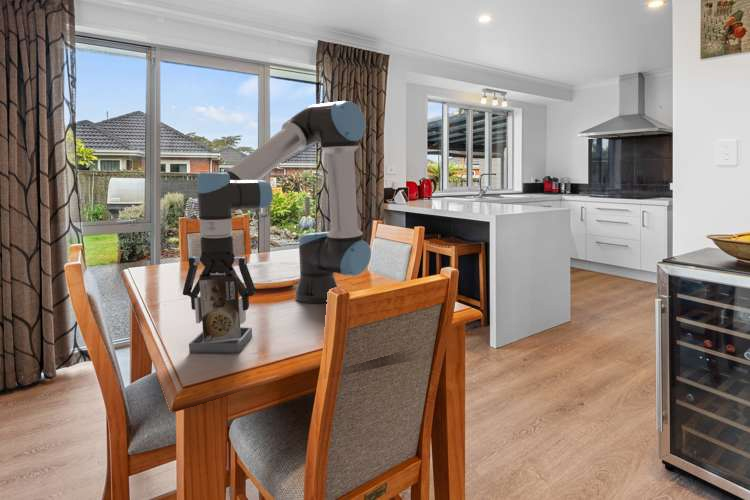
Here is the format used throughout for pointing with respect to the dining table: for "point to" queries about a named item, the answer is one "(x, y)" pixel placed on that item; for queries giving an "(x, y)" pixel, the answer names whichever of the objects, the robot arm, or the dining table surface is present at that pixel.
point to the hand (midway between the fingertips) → (221, 321)
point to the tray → (221, 344)
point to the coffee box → (219, 307)
